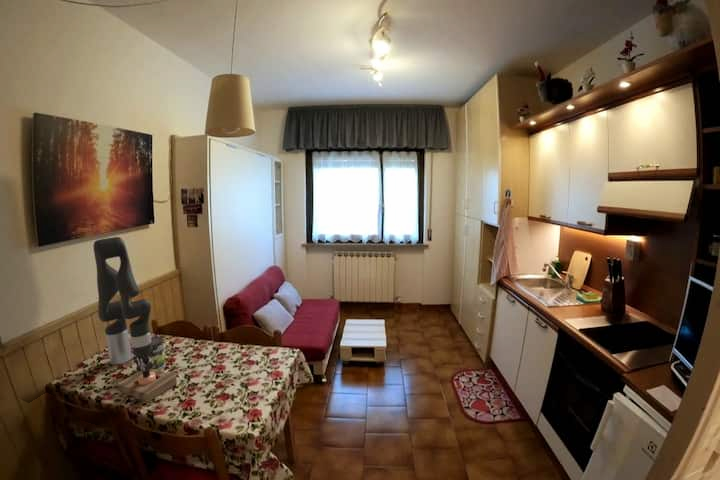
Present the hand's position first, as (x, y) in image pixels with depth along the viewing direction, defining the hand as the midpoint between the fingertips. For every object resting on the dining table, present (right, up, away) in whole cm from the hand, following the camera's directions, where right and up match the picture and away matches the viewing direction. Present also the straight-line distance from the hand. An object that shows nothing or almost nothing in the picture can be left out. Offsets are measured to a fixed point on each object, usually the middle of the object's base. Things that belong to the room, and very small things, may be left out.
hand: (146, 376), depth 146 cm
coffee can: (-8, -3, +18) cm, 20 cm away
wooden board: (0, -6, +1) cm, 6 cm away
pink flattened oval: (0, -4, +1) cm, 5 cm away
